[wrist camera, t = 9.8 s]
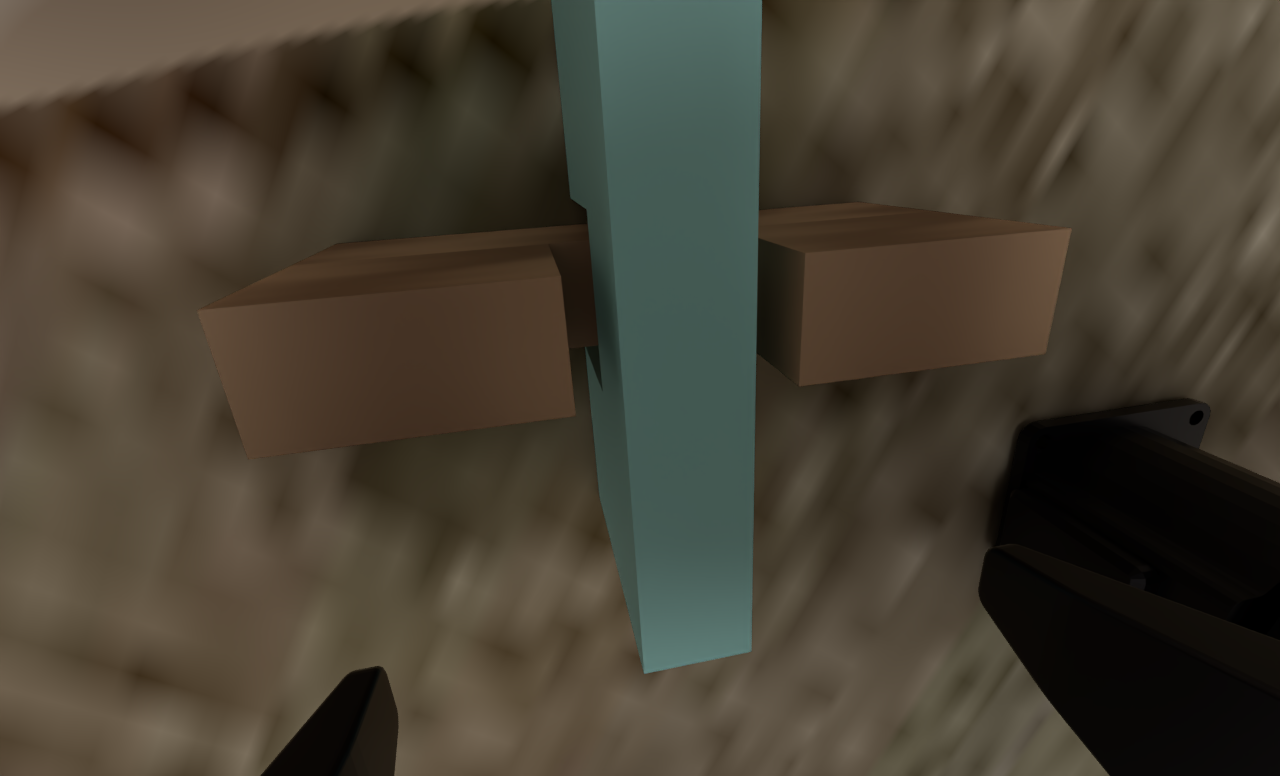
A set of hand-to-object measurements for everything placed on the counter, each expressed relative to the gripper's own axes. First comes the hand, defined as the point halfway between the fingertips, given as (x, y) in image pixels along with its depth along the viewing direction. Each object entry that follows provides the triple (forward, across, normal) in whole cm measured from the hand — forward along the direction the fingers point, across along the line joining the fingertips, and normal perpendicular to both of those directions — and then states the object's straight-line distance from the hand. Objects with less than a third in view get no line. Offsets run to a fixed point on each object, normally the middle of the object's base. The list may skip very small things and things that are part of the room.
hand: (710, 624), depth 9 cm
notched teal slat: (+7, 0, -4) cm, 8 cm away
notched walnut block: (+7, 0, -4) cm, 8 cm away
